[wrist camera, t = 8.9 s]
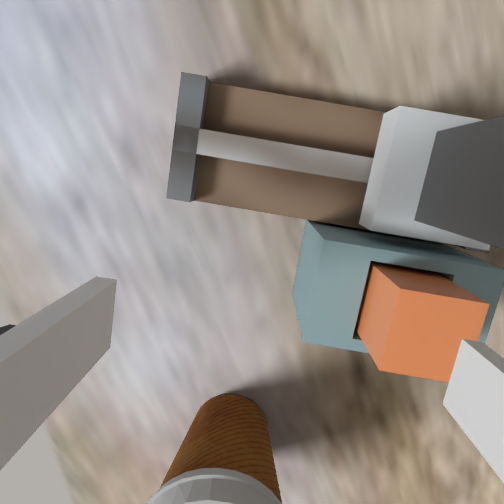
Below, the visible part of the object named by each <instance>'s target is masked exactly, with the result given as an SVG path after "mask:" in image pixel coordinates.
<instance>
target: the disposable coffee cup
mask: <svg viewBox="0 0 504 504" xmlns="http://www.w3.org/2000/svg"><path fill="white" fill-rule="evenodd" d="M272 454H273V453H272V450H271V445H270V440H269V434H268V429H267V422H266V419H265V416H264V414H263V412H262V410H261V409H260V408H259V407H258V406H257V405H256V404H255V403H254V402H253V401H251V400H249V399H247V398H245V397H242V396H239V395H234V394H225V395H219V396H216V397H214V398H212V399H210V400H208V401H207V402H205V403H204V404H203V406H202V407H201V408H200V409H199V411H198V413H197V415H196V417H195V419H194V421H193V423H192V425H191V427H190V429H189V431H188V433H187V435H186V437H185V439H184V441H183V443H182V445H181V447H180V449H179V451H178V453H177V455H176V457H175V459H174V461H173V463H172V465H171V467H170V469H169V471H168V472H167V475H166V477H165V479H164V481H163V483H162V485H161V487H160V489H159V490H158V491H157V492H156V493H155V494H154V495H152V496H151V497H150V499H149V500H148V502H147V503H146V504H282V500H281V496H280V490H279V484H278V481H277V475H276V469H275V464H274V459H273V455H272Z"/></svg>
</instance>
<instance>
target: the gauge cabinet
mask: <svg viewBox="0 0 504 504" xmlns="http://www.w3.org/2000/svg"><path fill="white" fill-rule="evenodd" d="M371 261H376V262H382V263H388V264H394V265H400V266H405V267H411V268H417V269H423V270H429V271H435V272H436V273H438V274H440V275H441V276H443V277H445V278H446V279H448V280H450V281H452V282H453V283H455V284H457V285H458V286H460V287H462V288H464V289H465V290H467V291H469V292H470V293H472V294H474V295H475V296H477V297H479V298H481V299H482V300H484V301H486V302H487V303H489V304H490V305H489V308H488V311H487V314H486V318H485V321H484V324H483V327H482V331H481V334H480V337H479V340H478V341H479V342H483V343H484V344H485V341H486V338H487V335H488V332H489V329H490V325H491V322H492V319H493V316H494V313H495V310H496V306H497V303H498V300H499V297H500V294H501V291H502V287H503V284H504V269H502V268H499V267H497V266H495V265H492V264H490V263H487V262H485V261H482V260H480V259H477V258H475V257H472V256H470V255H467V254H465V253H463V252H460V251H458V250H455V249H453V248H450V247H448V246H445V245H443V244H440V243H438V242H435V241H429V240H423V239H418V238H412V237H406V236H400V235H394V234H388V233H382V232H376V231H371V230H365V229H359V228H353V227H348V226H342V225H336V224H330V223H324V222H318V221H312V220H306V225H305V230H304V235H303V241H302V246H301V251H300V256H299V261H298V266H297V271H296V276H295V281H294V286H293V291H292V295H293V300H294V304H295V309H296V313H297V318H298V322H299V327H300V331H301V336H302V340H303V342H306V343H311V344H317V345H323V346H329V347H335V348H341V349H347V350H353V351H359V352H364V353H369V352H368V350H367V348H366V347H365V345H364V343H363V341H362V340H361V338H360V336H359V334H358V333H357V331H356V329H355V325H356V321H357V317H358V313H359V308H360V304H361V300H362V296H363V291H364V287H365V283H366V279H367V275H368V270H369V266H370V262H371Z"/></svg>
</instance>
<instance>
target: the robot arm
mask: <svg viewBox="0 0 504 504" xmlns="http://www.w3.org/2000/svg"><path fill="white" fill-rule="evenodd" d="M116 281H117V280H114V279H108V278H102V277H95V278H93V279H92V280H90V281H88V282H87V283H85V284H83V285H82V286H80V287H79V288H77V289H75V290H74V291H72V292H70V293H69V294H67V295H65V296H64V297H62V298H61V299H59V300H57V301H56V302H54V303H52V304H51V305H49V306H47V307H46V308H44V309H42V310H41V311H39V312H38V313H36V314H34V315H33V316H31V317H29V318H28V319H26V320H24V321H23V322H21V323H20V324H18V325H11V324H10V325H7V326H4V327H0V470H1V469H2V468H3V467H4V466H5V464H6V463H7V462H8V461H9V460H10V459H11V458H12V457H13V456H14V454H15V453H16V452H17V451H18V450H19V449H20V448H21V447H22V446H23V444H24V443H25V442H26V441H27V440H28V439H29V438H30V436H31V435H32V434H33V433H34V432H35V431H36V430H37V428H39V426H40V425H41V424H42V423H43V422H44V421H45V420H46V419H47V417H48V416H49V415H50V414H51V413H52V412H53V411H54V410H55V409H56V407H57V406H58V405H59V404H60V403H61V402H62V401H63V400H64V398H65V397H66V396H67V395H68V394H69V393H70V392H71V391H72V389H73V388H74V387H75V386H76V385H77V384H78V383H79V382H80V381H81V379H82V378H83V377H84V376H85V375H86V374H87V373H88V372H89V370H90V369H91V368H92V367H93V366H94V365H95V364H96V363H97V361H98V360H99V359H100V358H101V357H102V356H103V355H104V354H105V352H106V351H107V350H108V349H109V348H110V343H111V332H112V322H113V312H114V302H115V292H116ZM443 405H444V406H445V408H446V409H447V410H448V411H449V413H450V414H451V415H452V417H453V418H454V419H455V421H456V422H457V423H458V424H459V426H460V427H461V428H462V430H463V431H464V432H465V433H466V435H467V436H468V437H469V439H470V440H471V441H472V443H473V444H474V445H475V446H476V448H477V449H478V450H479V452H480V453H481V454H482V455H483V457H484V458H485V459H486V461H487V462H488V463H489V465H490V466H491V467H492V468H493V470H494V471H495V472H496V474H497V475H498V476H499V477H500V479H501V480H502V481H503V483H504V359H503V358H502V357H501V356H500V355H498V354H497V353H496V352H494V351H493V350H492V349H490V348H489V347H488V346H487V345H485V344H484V343H483V342H479V341H473V340H467V339H462V340H461V344H460V347H459V351H458V354H457V357H456V361H455V364H454V367H453V371H452V374H451V377H450V381H449V384H448V387H447V391H446V394H445V397H444V401H443Z"/></svg>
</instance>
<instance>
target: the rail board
mask: <svg viewBox="0 0 504 504" xmlns="http://www.w3.org/2000/svg"><path fill="white" fill-rule="evenodd" d="M384 113H386V112H382V111H377V110H371V109H365V108H359V107H353V106H347V105H341V104H336V103H330V102H324V101H318V100H312V99H306V98H300V97H294V96H289V95H283V94H277V93H271V92H265V91H259V90H253V89H247V88H242V87H236V86H230V85H224V84H218V83H212V82H210V81H209V80H208V78H207V76H202V75H196V74H190V73H184V72H181V80H180V89H179V97H178V105H177V114H176V122H175V131H174V139H173V147H172V156H171V164H170V173H169V181H168V189H167V198H169V199H175V200H181V201H186V202H191V201H194V200H195V201H201V202H207V203H212V204H218V205H224V206H230V207H236V208H242V209H248V210H254V211H259V212H265V213H271V214H277V215H283V216H289V217H295V218H301V219H306V220H312V221H318V222H324V223H330V224H336V225H342V226H348V227H353V228H359V229H365V230H369V229H367V228H365V227H364V226H362V225H360V224H359V221H360V216H361V212H362V207H363V203H364V198H365V194H366V190H367V185H368V181H369V176H370V172H371V167H372V163H373V159H374V154H375V150H376V145H377V141H378V136H379V132H380V128H381V123H382V119H383V114H384ZM456 246H459V245H456ZM459 247H461V248H464V249H468V250H474V251H480V252H486V253H489V251H488V250H482V249H476V248H471V247H465V246H459Z"/></svg>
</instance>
